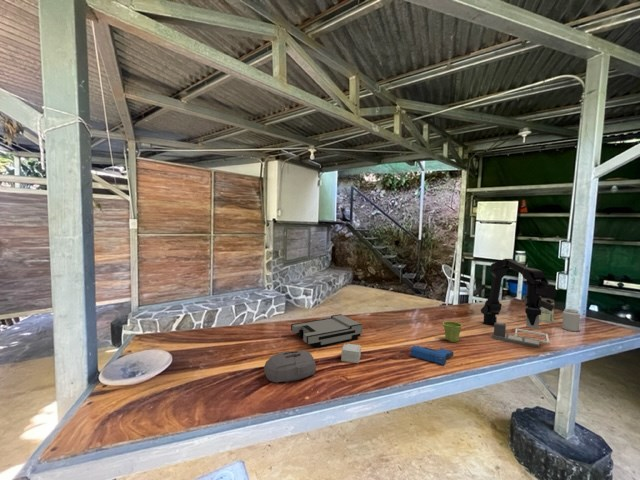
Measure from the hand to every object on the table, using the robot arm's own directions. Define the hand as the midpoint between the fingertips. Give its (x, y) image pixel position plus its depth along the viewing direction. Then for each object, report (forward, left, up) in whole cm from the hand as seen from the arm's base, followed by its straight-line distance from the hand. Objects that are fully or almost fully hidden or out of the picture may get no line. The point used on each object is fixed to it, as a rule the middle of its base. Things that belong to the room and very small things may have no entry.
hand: (532, 323), depth 143 cm
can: (+19, +42, -11) cm, 47 cm away
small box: (-65, -73, -11) cm, 99 cm away
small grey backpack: (-78, -101, -11) cm, 128 cm away
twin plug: (-14, 0, -9) cm, 17 cm away
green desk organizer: (+7, +56, -11) cm, 57 cm away
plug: (0, 0, -1) cm, 1 cm away
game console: (-88, -61, -11) cm, 108 cm away
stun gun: (-37, -48, -11) cm, 61 cm away
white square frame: (0, +13, -11) cm, 17 cm away
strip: (-7, 0, -11) cm, 13 cm away
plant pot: (-34, -21, -11) cm, 41 cm away
